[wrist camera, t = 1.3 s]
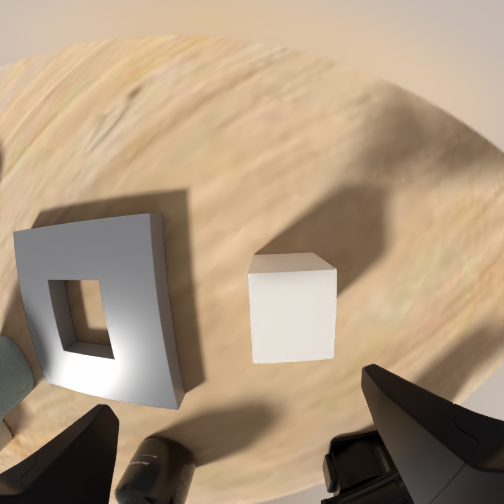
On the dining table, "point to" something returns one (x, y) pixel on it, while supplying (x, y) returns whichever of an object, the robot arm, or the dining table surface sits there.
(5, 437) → the travel mug
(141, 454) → the supplement bottle
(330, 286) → the plug
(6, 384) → the teal cup
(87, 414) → the robot arm
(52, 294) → the socket
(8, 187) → the dining table surface
